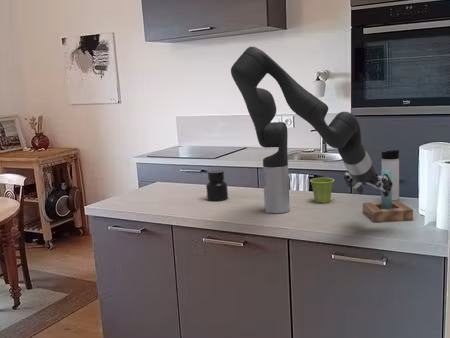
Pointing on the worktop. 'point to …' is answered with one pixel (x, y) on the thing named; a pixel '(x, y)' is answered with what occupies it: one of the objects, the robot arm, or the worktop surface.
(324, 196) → the plant pot
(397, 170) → the travel mug
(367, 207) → the socket block
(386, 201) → the dowel
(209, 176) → the ink bottle
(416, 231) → the worktop surface
